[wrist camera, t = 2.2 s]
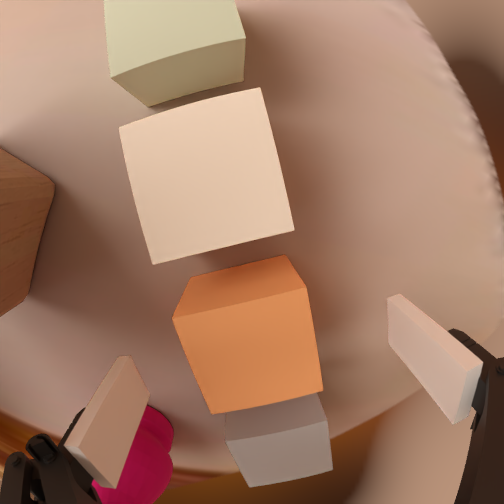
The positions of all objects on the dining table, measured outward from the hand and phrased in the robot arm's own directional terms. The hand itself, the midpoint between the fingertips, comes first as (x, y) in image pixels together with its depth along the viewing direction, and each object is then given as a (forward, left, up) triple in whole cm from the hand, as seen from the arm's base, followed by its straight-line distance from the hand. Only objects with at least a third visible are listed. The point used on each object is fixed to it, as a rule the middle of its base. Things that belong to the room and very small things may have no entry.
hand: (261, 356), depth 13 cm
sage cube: (0, +17, -6) cm, 18 cm away
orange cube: (0, 0, -6) cm, 6 cm away
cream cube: (0, +9, -6) cm, 10 cm away
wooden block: (-17, +11, -6) cm, 21 cm away
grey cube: (0, -8, -6) cm, 10 cm away
